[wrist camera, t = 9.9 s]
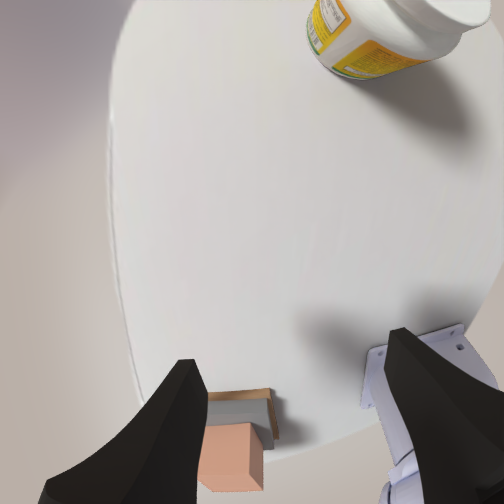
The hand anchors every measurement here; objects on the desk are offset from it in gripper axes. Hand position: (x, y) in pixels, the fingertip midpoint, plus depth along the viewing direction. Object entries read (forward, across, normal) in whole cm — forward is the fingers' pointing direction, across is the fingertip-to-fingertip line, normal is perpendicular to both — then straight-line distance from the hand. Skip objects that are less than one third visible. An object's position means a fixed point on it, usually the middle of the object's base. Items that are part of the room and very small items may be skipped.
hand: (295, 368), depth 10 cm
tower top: (+8, +6, +15) cm, 18 cm away
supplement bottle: (+9, -6, -13) cm, 17 cm away
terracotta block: (+6, +6, +15) cm, 17 cm away
